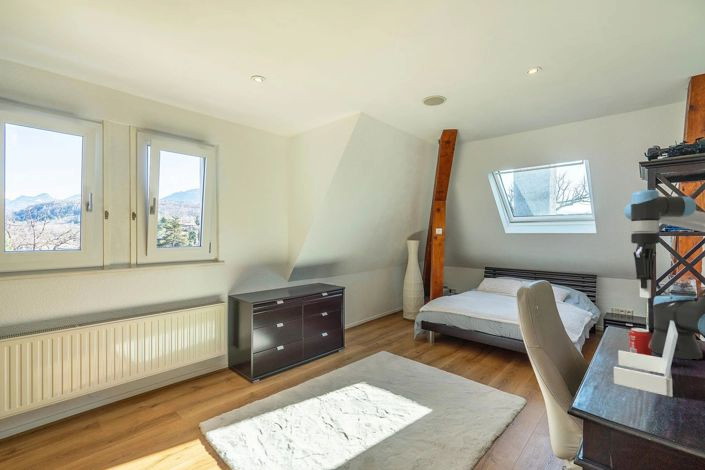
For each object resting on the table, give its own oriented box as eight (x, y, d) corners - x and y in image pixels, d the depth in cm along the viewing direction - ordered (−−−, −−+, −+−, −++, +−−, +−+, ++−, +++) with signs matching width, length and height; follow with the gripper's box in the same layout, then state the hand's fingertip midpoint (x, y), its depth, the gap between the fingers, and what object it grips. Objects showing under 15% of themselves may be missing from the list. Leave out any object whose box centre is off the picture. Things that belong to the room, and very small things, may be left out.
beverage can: (656, 365, 116) (655, 332, 116) (636, 364, 117) (635, 331, 118) (644, 359, 122) (643, 327, 123) (625, 358, 124) (625, 327, 124)
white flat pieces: (669, 373, 109) (668, 358, 109) (672, 396, 93) (672, 379, 93) (618, 363, 118) (618, 350, 118) (613, 383, 102) (613, 367, 102)
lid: (662, 356, 110) (665, 357, 110) (664, 376, 94) (668, 377, 94) (670, 320, 109) (674, 321, 108) (674, 334, 93) (678, 335, 92)
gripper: (639, 233, 124) (639, 294, 123) (624, 232, 117) (624, 297, 117) (665, 233, 117) (666, 297, 117) (650, 232, 111) (651, 300, 110)
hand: (645, 297), depth 117 cm, fingers closed
